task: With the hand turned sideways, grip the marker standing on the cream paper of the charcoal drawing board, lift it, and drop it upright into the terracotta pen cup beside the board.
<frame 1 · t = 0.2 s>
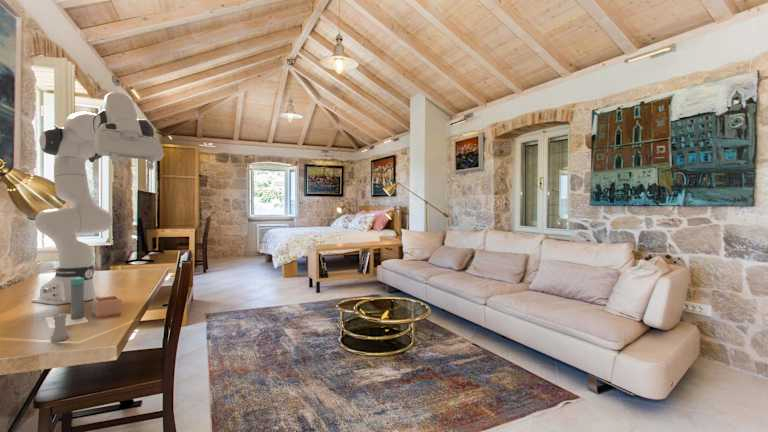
hand: (135, 167, 127), 54 cm above the table, tool tilted 30°, fingers open, 8 cm apart
drawing board: (64, 321, 130), on the table
rook chess piece: (60, 340, 113), on the table
marker: (77, 317, 132), point 1 cm above the table, touching drawing board
pen cup: (107, 314, 139), on the table
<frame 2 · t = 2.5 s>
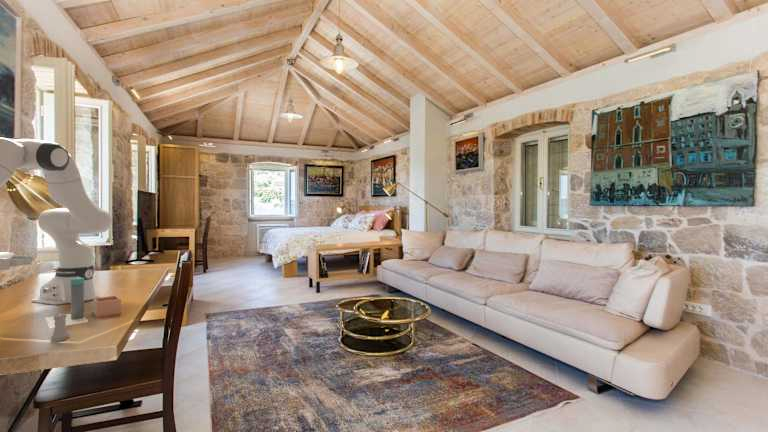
hand: (32, 260, 124), 22 cm above the table, tool horizontal, fingers open, 8 cm apart
nothing on the table moved.
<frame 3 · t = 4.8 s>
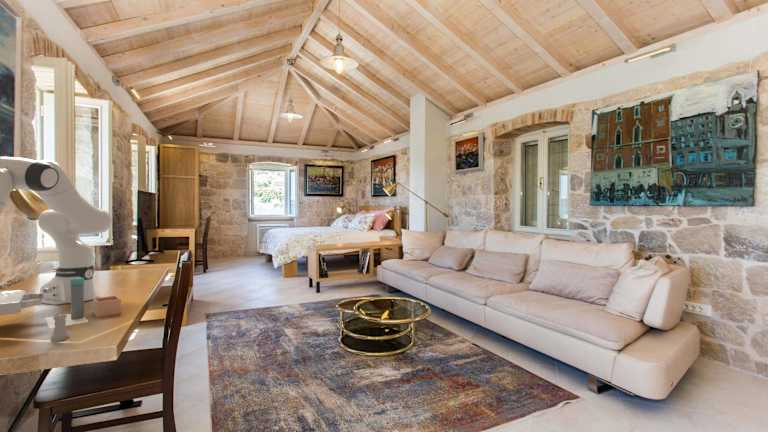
hand: (42, 298, 126), 9 cm above the table, tool horizontal, fingers open, 8 cm apart
nothing on the table moved.
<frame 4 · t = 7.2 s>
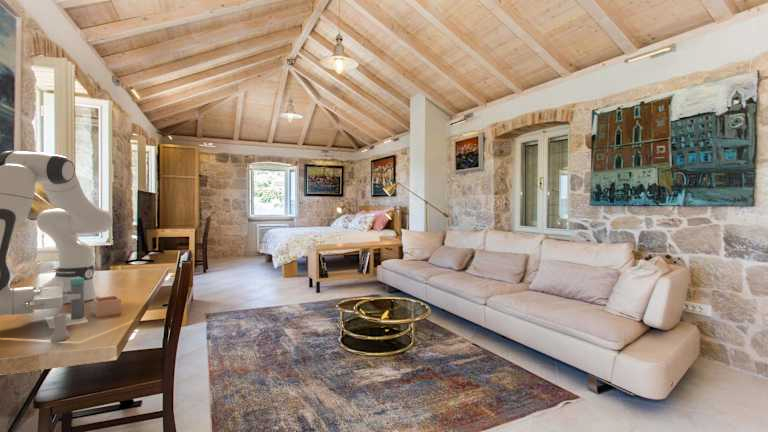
hand: (80, 294, 133), 9 cm above the table, tool horizontal, fingers closed on marker, 4 cm apart
marker: (77, 317, 132), point 1 cm above the table, touching drawing board, gripper
everything else where it was.
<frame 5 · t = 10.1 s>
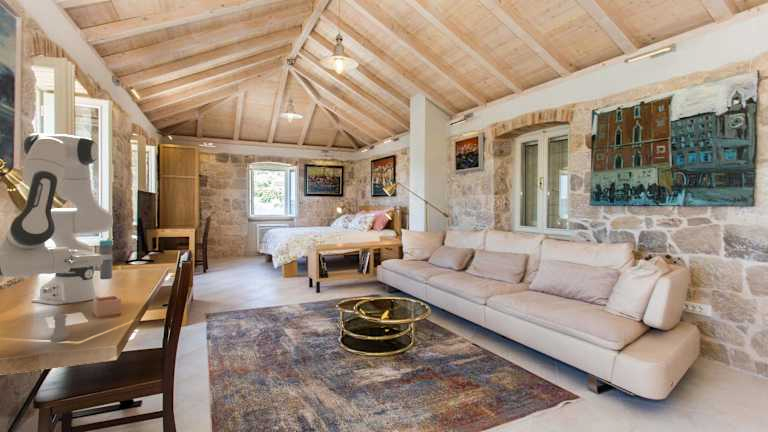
hand: (109, 255, 139), 22 cm above the table, tool horizontal, fingers closed on marker, 4 cm apart
marker: (106, 278, 138), point 14 cm above the table, touching gripper
everything else where it was.
when the fingers open (10 cm above the table, at t = 13.2 s): marker drops 1 cm, resting on pen cup.
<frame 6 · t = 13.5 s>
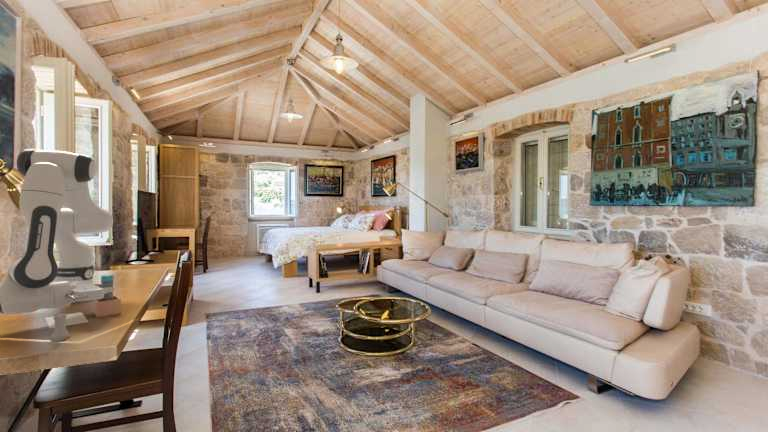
hand: (109, 287, 139), 10 cm above the table, tool horizontal, fingers open, 6 cm apart
marker: (106, 313, 139), point 1 cm above the table, touching pen cup
everything else where it was.
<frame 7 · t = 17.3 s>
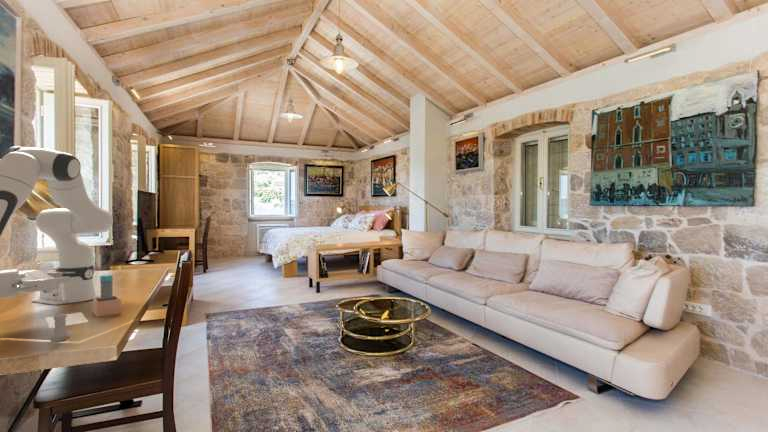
hand: (65, 276, 129), 16 cm above the table, tool horizontal, fingers open, 8 cm apart
nothing on the table moved.
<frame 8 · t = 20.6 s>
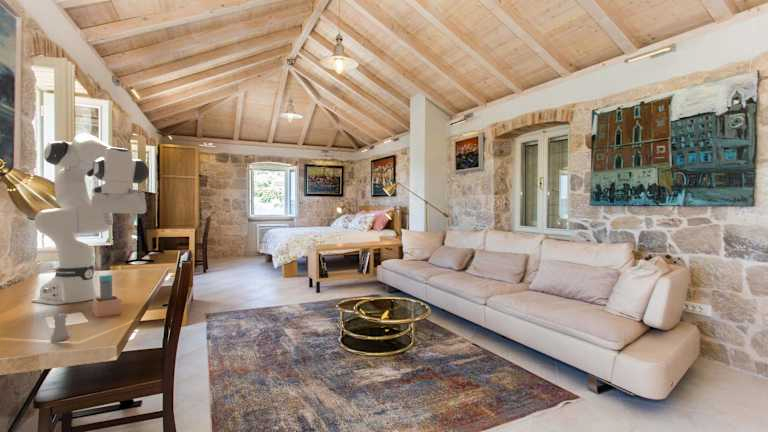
hand: (119, 225, 145), 33 cm above the table, tool pointing down, fingers open, 8 cm apart
nothing on the table moved.
at the end: marker 0.1 cm off-centre on the pen cup, point 0.6 cm above the pen cup's base; marker tilted 1°; the gripper is holding nothing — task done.
